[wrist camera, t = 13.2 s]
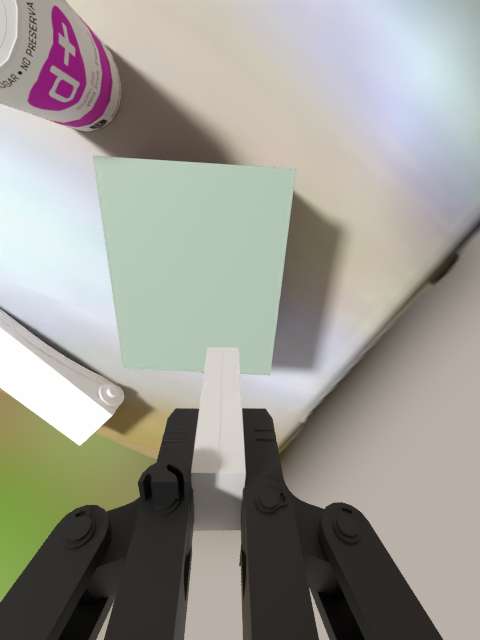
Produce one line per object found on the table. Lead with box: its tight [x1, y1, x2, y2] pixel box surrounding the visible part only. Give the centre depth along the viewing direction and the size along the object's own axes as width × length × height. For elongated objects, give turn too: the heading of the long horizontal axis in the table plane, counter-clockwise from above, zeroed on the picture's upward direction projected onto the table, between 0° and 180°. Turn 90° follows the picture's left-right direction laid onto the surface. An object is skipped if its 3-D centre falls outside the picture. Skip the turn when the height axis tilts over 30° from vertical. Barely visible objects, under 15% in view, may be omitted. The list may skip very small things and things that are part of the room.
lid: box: [93, 156, 296, 375], centre depth 28 cm, size 21×16×1 cm
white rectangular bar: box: [0, 309, 124, 446], centre depth 41 cm, size 10×7×28 cm
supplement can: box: [0, 0, 122, 131], centre depth 21 cm, size 8×8×15 cm
